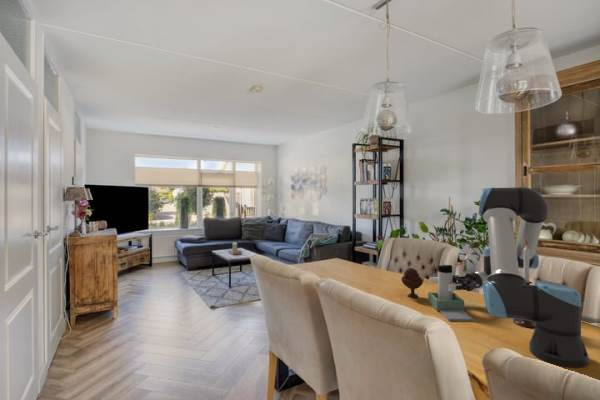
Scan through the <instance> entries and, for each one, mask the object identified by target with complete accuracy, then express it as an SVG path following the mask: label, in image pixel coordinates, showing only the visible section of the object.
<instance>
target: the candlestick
mask: <svg viewBox="0 0 600 400" xmlns="http://www.w3.org/2000/svg"><path fill="white" fill-rule="evenodd" d="M525 244H526V247H525V249H524V268H523V277H524V278H525V282H526V285H531V284H533V282H532V281H530V269H529V249H528V247H527V244H528V243H527V240H526V238H525ZM512 321H513V323H514V324H515V325H517V326H519V327H521V328H525V329H526V328H527V329H535V327H536V321H528V320H520V319H512Z"/></svg>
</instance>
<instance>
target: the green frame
mask: <svg viewBox="0 0 600 400" xmlns="http://www.w3.org/2000/svg"><path fill="white" fill-rule="evenodd" d="M427 298H428V299H427V300H428V303H427V304H429V305H430V306H431V307H432V308H433V310H435V311H436V312H440V310H463V311H465V300H464V299H463V298H461V296H459V295H457V293H455V291H453V300H438V291H436V292H434V291H433V292H432V291H431V292H430V291H429V292H427Z"/></svg>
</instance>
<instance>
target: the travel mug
mask: <svg viewBox="0 0 600 400" xmlns="http://www.w3.org/2000/svg"><path fill="white" fill-rule="evenodd" d="M452 275H453V265H451V264H442V265H437V277H438V283H437V292H438V300H453V292H454V291H449V285H452V284H453V283H452Z"/></svg>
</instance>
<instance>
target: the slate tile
mask: <svg viewBox="0 0 600 400" xmlns="http://www.w3.org/2000/svg"><path fill="white" fill-rule="evenodd" d="M439 312H440V314H441V315H442V316H443V317H444V318H445V319H446V320H447V321H448V322H474V318H473V317H472V316H471V315H470V314H468V313H467V312H466V311H465V310H464V311H463V310H440V311H439Z"/></svg>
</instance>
